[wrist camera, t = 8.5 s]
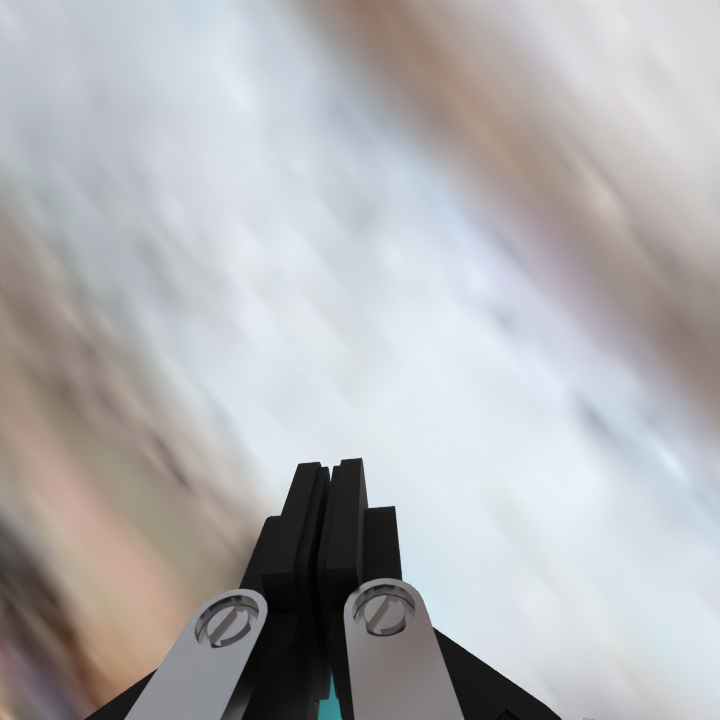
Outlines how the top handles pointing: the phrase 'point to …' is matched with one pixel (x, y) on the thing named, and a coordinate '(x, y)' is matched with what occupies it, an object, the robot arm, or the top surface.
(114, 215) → the top surface
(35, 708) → the top surface
